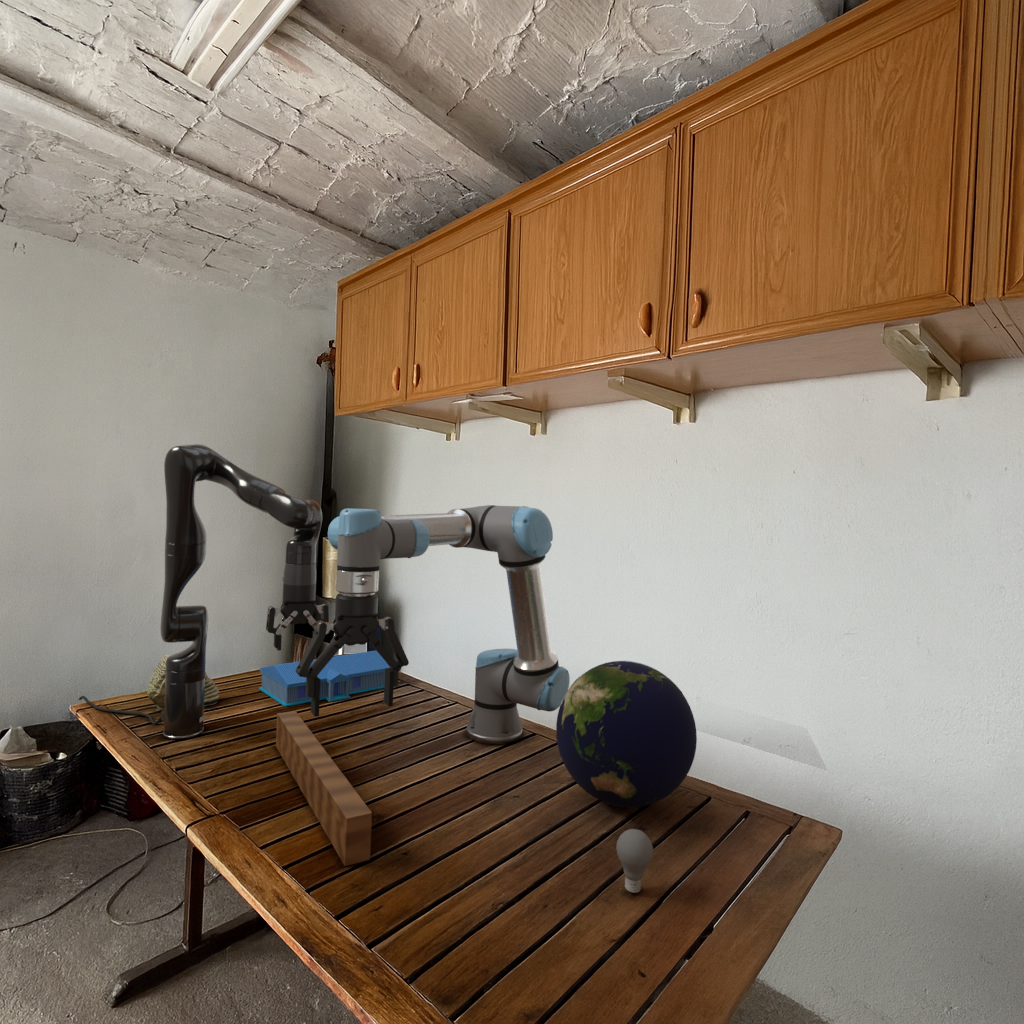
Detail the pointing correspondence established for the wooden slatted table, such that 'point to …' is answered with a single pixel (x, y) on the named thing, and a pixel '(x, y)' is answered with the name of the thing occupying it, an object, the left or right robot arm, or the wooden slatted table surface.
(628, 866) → the light bulb
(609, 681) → the globe
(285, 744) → the post
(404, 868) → the wooden slatted table surface
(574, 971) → the wooden slatted table surface
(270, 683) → the model building
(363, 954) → the wooden slatted table surface
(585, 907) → the wooden slatted table surface
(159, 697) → the fossil
